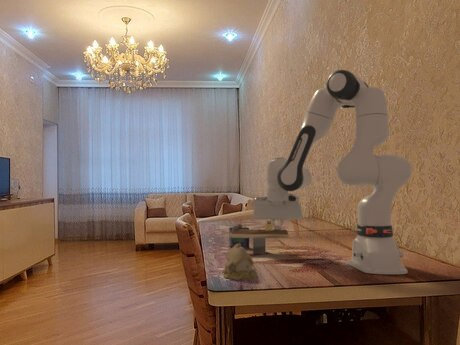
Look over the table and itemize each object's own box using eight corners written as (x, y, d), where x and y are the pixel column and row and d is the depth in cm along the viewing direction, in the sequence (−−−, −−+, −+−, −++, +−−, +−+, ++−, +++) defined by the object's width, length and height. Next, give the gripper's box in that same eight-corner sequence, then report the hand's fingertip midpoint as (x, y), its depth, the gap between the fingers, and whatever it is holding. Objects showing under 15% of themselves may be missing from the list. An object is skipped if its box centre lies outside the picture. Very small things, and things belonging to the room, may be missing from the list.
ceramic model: (262, 278, 125) (262, 246, 125) (227, 281, 122) (227, 247, 122) (248, 269, 138) (248, 239, 138) (216, 271, 135) (216, 241, 135)
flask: (228, 247, 182) (228, 223, 182) (230, 246, 185) (230, 222, 185) (248, 248, 179) (248, 223, 179) (250, 247, 182) (250, 223, 182)
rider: (272, 233, 166) (272, 221, 166) (265, 233, 167) (265, 221, 167) (272, 232, 169) (272, 220, 169) (265, 232, 170) (265, 220, 170)
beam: (288, 254, 164) (288, 227, 164) (229, 253, 166) (229, 226, 166) (287, 251, 170) (287, 225, 170) (231, 250, 172) (231, 224, 172)
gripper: (252, 197, 166) (252, 230, 166) (302, 197, 164) (302, 231, 164) (252, 196, 172) (252, 228, 172) (301, 196, 170) (301, 229, 170)
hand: (277, 230), depth 168 cm, fingers closed
